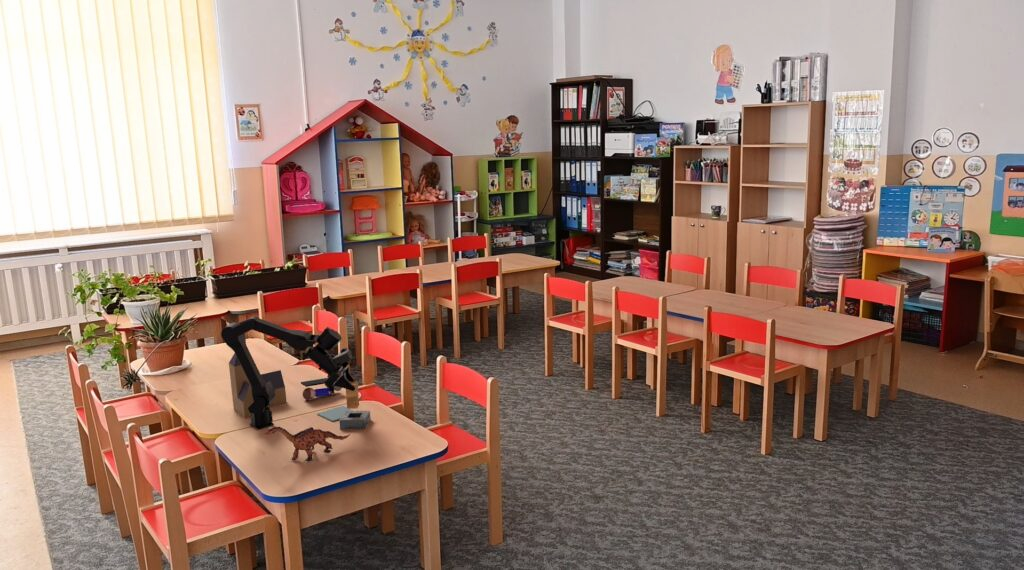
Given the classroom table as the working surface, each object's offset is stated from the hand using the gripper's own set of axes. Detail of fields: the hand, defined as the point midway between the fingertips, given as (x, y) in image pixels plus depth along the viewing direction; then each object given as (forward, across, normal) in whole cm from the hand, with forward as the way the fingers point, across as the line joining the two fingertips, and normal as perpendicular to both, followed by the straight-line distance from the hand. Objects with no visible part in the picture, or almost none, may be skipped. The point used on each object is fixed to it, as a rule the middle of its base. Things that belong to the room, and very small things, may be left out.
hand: (355, 388), depth 285 cm
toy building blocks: (-19, +18, +39) cm, 47 cm away
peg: (+4, 0, +6) cm, 7 cm away
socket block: (+9, -1, +10) cm, 14 cm away
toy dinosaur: (+3, -29, +17) cm, 34 cm away
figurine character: (-5, +30, +25) cm, 39 cm away
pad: (+3, +10, +16) cm, 19 cm away
